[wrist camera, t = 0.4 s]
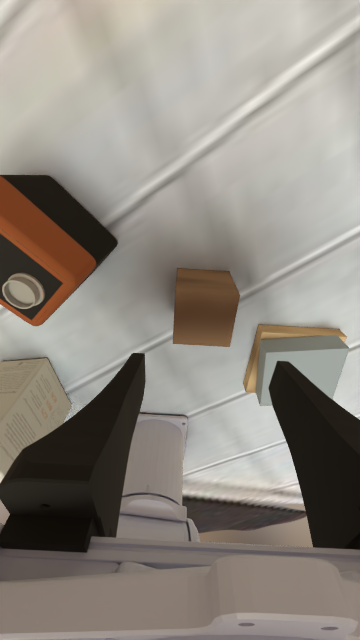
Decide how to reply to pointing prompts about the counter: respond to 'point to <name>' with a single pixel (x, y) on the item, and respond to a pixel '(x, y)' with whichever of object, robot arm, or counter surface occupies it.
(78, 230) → the battery
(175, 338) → the walnut block
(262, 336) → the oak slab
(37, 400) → the small box
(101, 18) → the counter surface
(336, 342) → the gray slab
